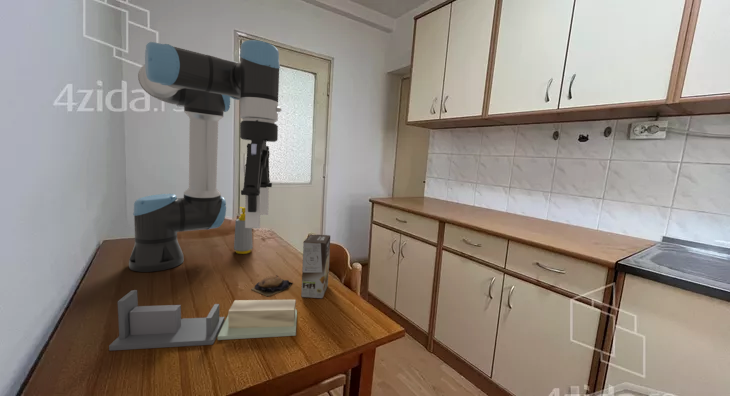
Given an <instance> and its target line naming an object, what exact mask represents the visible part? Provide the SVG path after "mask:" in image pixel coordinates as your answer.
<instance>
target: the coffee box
mask: <svg viewBox="0 0 730 396" xmlns="http://www.w3.org/2000/svg"><path fill="white" fill-rule="evenodd" d="M302 244H303V246H302V247H303V248H302V250H303V251H302V269H301V272H302V274H301V293H300V294H301V297H302V298H312V299H313V298H314V299H323V298H324V296H325V293H326V291H327V288H328V285H329V268H330V252H331V251H330V249H331V248H330V247H331V235H329V234H313V233H312V234H310V235H309V236H308V237H307V238H305V239H304V240H303V243H302Z"/></svg>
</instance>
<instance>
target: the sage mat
mask: <svg viewBox="0 0 730 396" xmlns="http://www.w3.org/2000/svg"><path fill="white" fill-rule="evenodd" d="M297 309H298V308H297ZM297 309H296V308H295V320H294V326H291V327H254V328H228V315H227V317H226V318H225V319H224V323H223V325H222V327H221V329H220V331H219V333H218V335H217V341H221V340H223V341H224V340H236V339H237V340H239V339H240V340H241V339H258V338H275V337H276V338H278V337H292V336H293V337H294V336H297V317H298V314H297V313H298V310H297Z"/></svg>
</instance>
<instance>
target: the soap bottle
mask: <svg viewBox="0 0 730 396" xmlns="http://www.w3.org/2000/svg"><path fill="white" fill-rule="evenodd" d="M239 209H241V213H240V216H239V217H238V218H236V219H235V225H234V226H235V227H234V241H233V242H234V243H233V244H234V245H233V250H234V251H235V253H236V254H239V255H242V254H243V255H245V254H249V253H251V251H252V250H253V247H254V245H253V228H245V206H239Z"/></svg>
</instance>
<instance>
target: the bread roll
mask: <svg viewBox="0 0 730 396" xmlns="http://www.w3.org/2000/svg"><path fill="white" fill-rule="evenodd" d="M293 284H294V283H293V282H290V281H289V280H288V279H283V278H281V277H280V276H278V275H269V276H266V277H264V278H263V279H262V280H261V281H259V282H257V283H256V284H255V285H254V287H252V288H251V291H253V292H256V293H258V294H260V295H262V296H265V297H272V296H273V295H275V294H278V293H281V292H282V291H284V290H285V291H286V289H288V288H290V287H291V286H292V285H293Z"/></svg>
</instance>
